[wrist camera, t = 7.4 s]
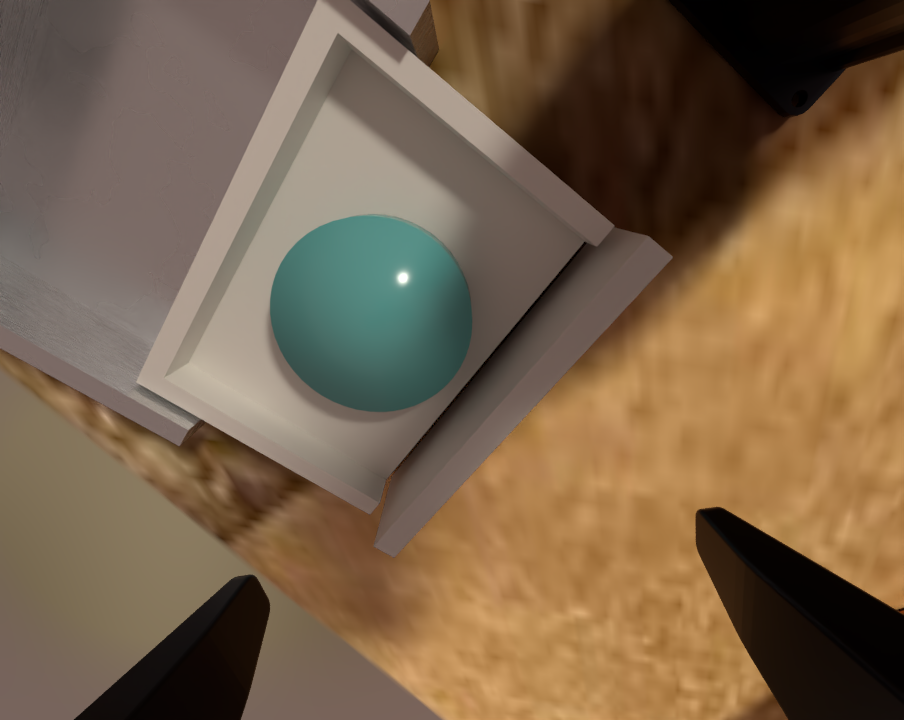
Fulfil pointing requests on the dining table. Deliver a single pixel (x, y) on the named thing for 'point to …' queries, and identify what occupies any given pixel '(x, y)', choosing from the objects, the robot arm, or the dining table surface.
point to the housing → (130, 168)
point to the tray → (424, 203)
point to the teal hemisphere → (372, 312)
